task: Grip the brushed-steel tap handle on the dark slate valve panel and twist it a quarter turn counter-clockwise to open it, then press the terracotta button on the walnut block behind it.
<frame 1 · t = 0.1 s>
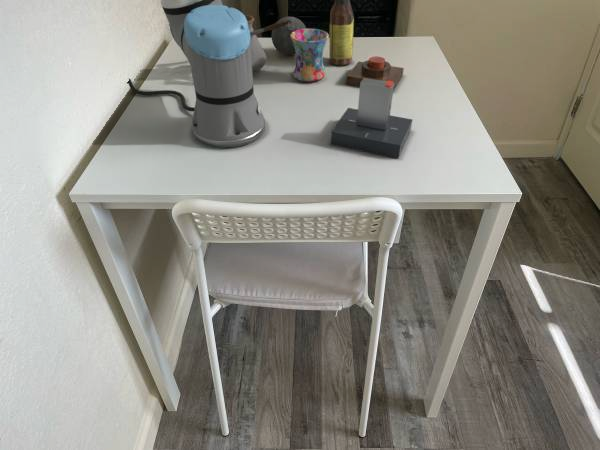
valve panel: (371, 138, 94), on the table
coffee pot: (260, 74, 120), on the table
button: (376, 62, 113), point 4 cm above the table, slide at 0.1 cm
button block: (374, 80, 116), on the table
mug: (311, 75, 119), on the table
decorative ball: (289, 55, 130), on the table
sauce bottle: (340, 62, 125), on the table
tap handle: (374, 103, 89), point 8 cm above the table, hinge at 0.0°
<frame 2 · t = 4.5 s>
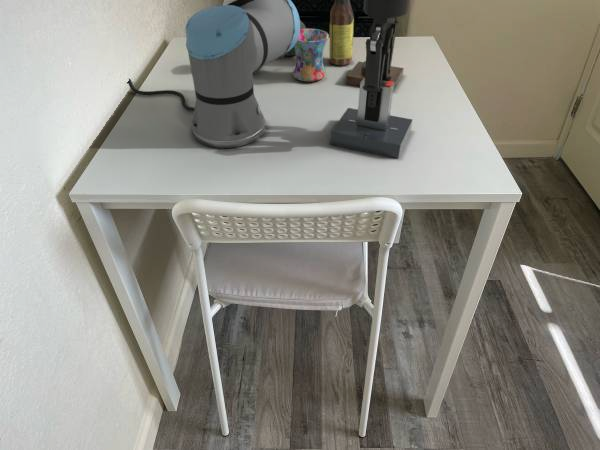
hand: (373, 116, 91), 5 cm above the table, tool pointing down, fingers closed on tap handle, 2 cm apart
tap handle: (374, 103, 89), point 8 cm above the table, hinge at 0.0°, touching gripper
everything else where it was.
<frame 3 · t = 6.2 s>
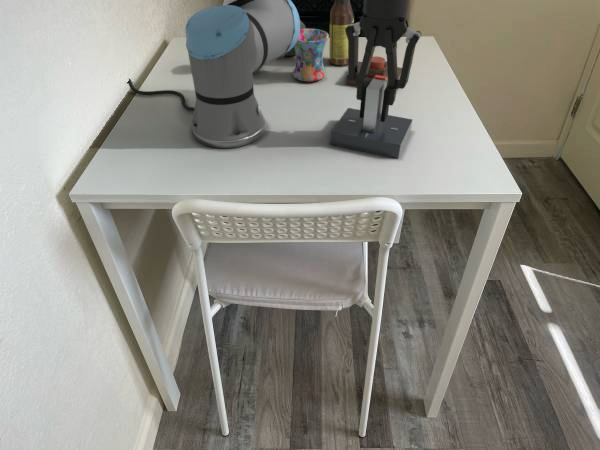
hand: (373, 116, 91), 5 cm above the table, tool pointing down, fingers open, 4 cm apart
tap handle: (374, 103, 89), point 8 cm above the table, hinge at 89.8°
everything else where it was.
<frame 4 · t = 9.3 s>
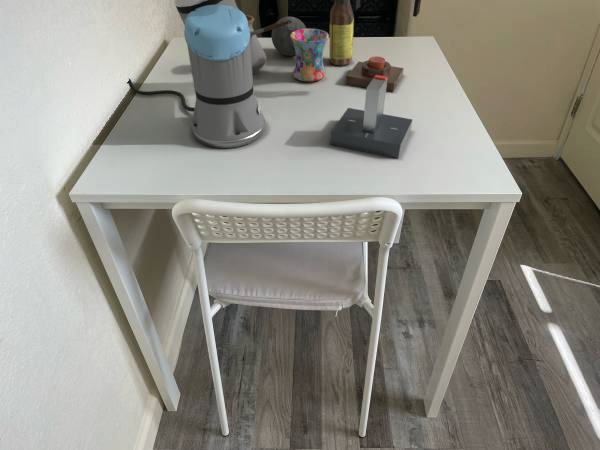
hand: (385, 11, 101), 18 cm above the table, tool pointing down, fingers open, 13 cm apart
nothing on the table moved.
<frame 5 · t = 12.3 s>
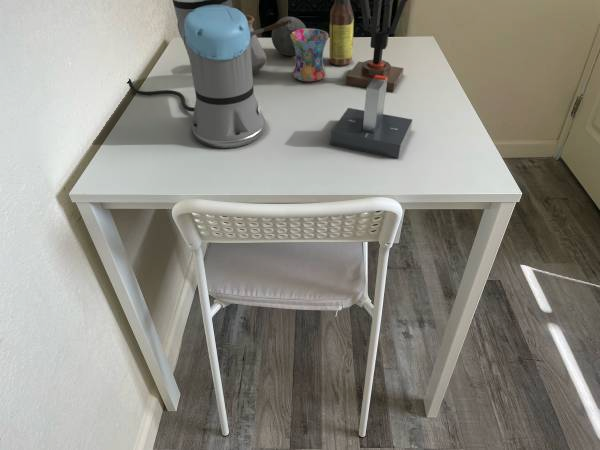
hand: (377, 61, 113), 5 cm above the table, tool pointing down, fingers closed
button: (376, 65, 113), point 4 cm above the table, slide at -0.6 cm, touching gripper
everything else where it was.
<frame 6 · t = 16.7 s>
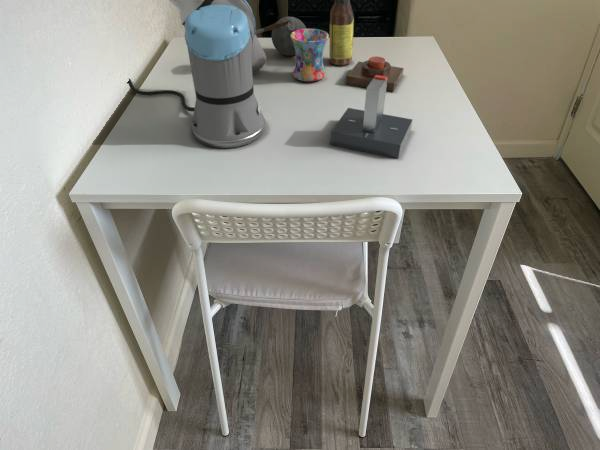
button: (376, 62, 113), point 4 cm above the table, slide at 0.1 cm
everything else where it was.
at the end: tap handle at +90° (first picture: +0°); button pushed in 1.0 cm at the most during the clip, back to where it started at the end; button slide at 0.1 cm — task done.
